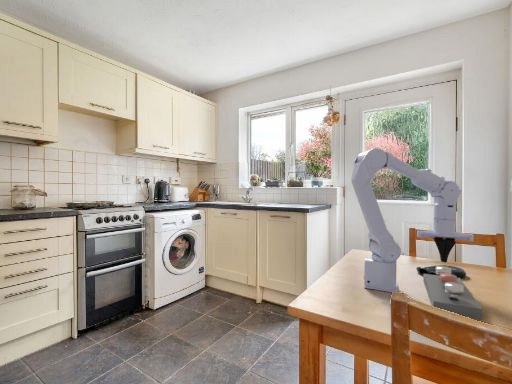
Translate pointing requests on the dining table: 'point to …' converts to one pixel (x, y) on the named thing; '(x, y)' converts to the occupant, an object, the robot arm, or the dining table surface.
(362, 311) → the dining table surface
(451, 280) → the middle knob
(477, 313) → the knob mount
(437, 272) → the far knob
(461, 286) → the near knob
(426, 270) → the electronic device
